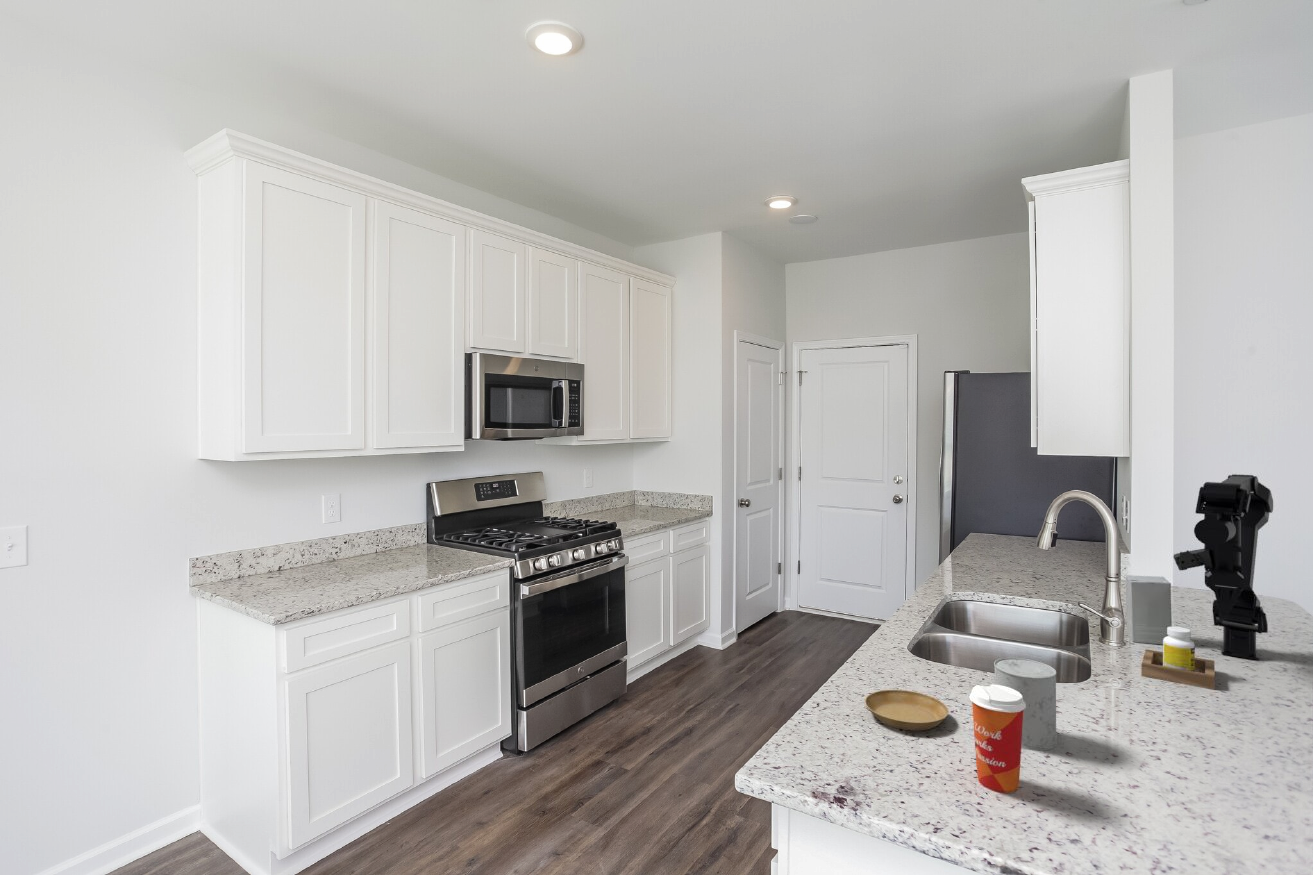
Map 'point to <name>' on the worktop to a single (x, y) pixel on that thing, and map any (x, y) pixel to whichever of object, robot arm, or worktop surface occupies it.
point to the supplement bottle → (1179, 649)
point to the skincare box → (1148, 608)
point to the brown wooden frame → (1178, 671)
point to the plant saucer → (906, 709)
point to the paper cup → (998, 736)
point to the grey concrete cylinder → (1032, 698)
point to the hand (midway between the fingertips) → (1223, 611)
